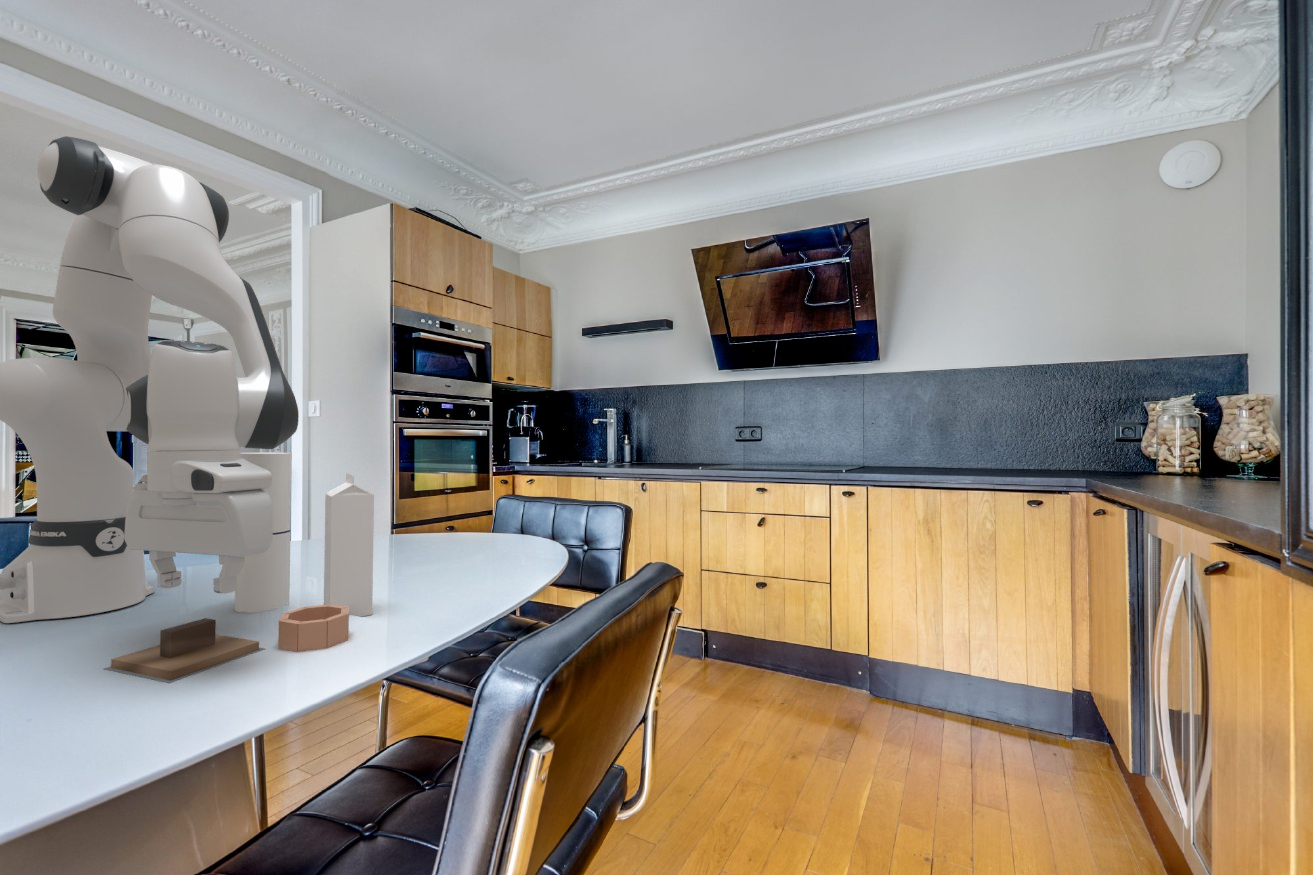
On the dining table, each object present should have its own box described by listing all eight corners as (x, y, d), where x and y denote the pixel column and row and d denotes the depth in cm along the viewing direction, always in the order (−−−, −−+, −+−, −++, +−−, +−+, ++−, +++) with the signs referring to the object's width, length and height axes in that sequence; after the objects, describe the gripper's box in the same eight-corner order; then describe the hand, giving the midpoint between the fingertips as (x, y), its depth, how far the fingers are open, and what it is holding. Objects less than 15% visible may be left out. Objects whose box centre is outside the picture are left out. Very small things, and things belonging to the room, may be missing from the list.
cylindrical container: (295, 611, 92) (297, 453, 92) (240, 621, 87) (243, 454, 87) (281, 602, 97) (284, 452, 97) (229, 611, 92) (232, 452, 92)
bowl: (264, 654, 75) (265, 618, 75) (318, 635, 82) (318, 602, 82) (311, 663, 72) (311, 626, 72) (361, 642, 79) (362, 608, 79)
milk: (329, 622, 88) (330, 475, 88) (323, 612, 93) (324, 472, 92) (373, 615, 91) (374, 474, 91) (365, 605, 96) (366, 471, 96)
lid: (111, 667, 67) (111, 632, 67) (202, 639, 77) (203, 609, 77) (171, 680, 64) (171, 643, 64) (258, 649, 73) (259, 617, 73)
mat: (102, 677, 67) (102, 668, 67) (203, 645, 77) (204, 637, 77) (168, 692, 63) (169, 682, 63) (265, 656, 74) (265, 648, 74)
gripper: (106, 475, 71) (107, 590, 71) (230, 477, 64) (232, 602, 64) (164, 472, 77) (165, 578, 77) (283, 473, 70) (284, 588, 70)
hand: (196, 589), depth 70 cm, fingers open, 8 cm apart
